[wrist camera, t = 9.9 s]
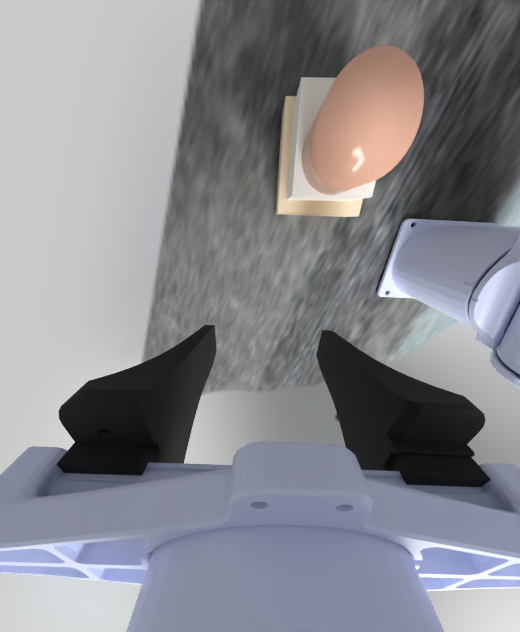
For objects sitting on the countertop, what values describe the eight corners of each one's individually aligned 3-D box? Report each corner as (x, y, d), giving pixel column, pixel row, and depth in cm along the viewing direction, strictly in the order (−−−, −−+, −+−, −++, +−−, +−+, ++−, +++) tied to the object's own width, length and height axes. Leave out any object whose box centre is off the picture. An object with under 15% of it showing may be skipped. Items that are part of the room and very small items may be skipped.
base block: (365, 121, 15) (387, 100, 13) (344, 217, 19) (358, 216, 16) (281, 117, 15) (285, 95, 13) (275, 214, 18) (277, 212, 16)
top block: (372, 108, 13) (400, 78, 10) (352, 201, 15) (371, 196, 13) (293, 107, 13) (301, 77, 10) (286, 199, 15) (292, 195, 13)
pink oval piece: (383, 108, 11) (445, 51, 7) (359, 197, 13) (397, 188, 9) (309, 100, 11) (333, 39, 7) (296, 191, 13) (310, 180, 9)
